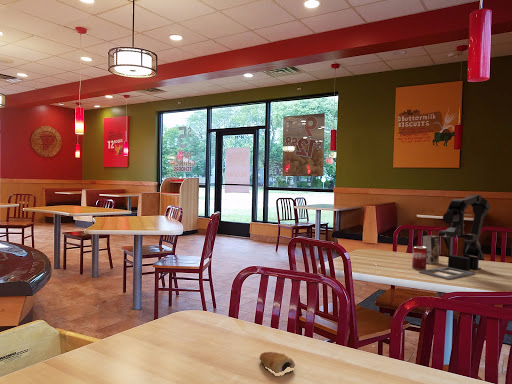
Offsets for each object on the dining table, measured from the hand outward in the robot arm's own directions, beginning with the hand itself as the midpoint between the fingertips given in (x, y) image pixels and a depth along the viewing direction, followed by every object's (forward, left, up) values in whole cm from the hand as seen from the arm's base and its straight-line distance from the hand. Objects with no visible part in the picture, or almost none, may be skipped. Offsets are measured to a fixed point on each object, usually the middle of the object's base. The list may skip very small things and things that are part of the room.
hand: (456, 250), depth 209 cm
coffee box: (-10, -21, -12) cm, 26 cm away
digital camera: (-11, -3, -12) cm, 16 cm away
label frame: (+9, 0, -12) cm, 14 cm away
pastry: (+151, +36, -12) cm, 155 cm away
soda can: (+12, -14, -12) cm, 22 cm away
